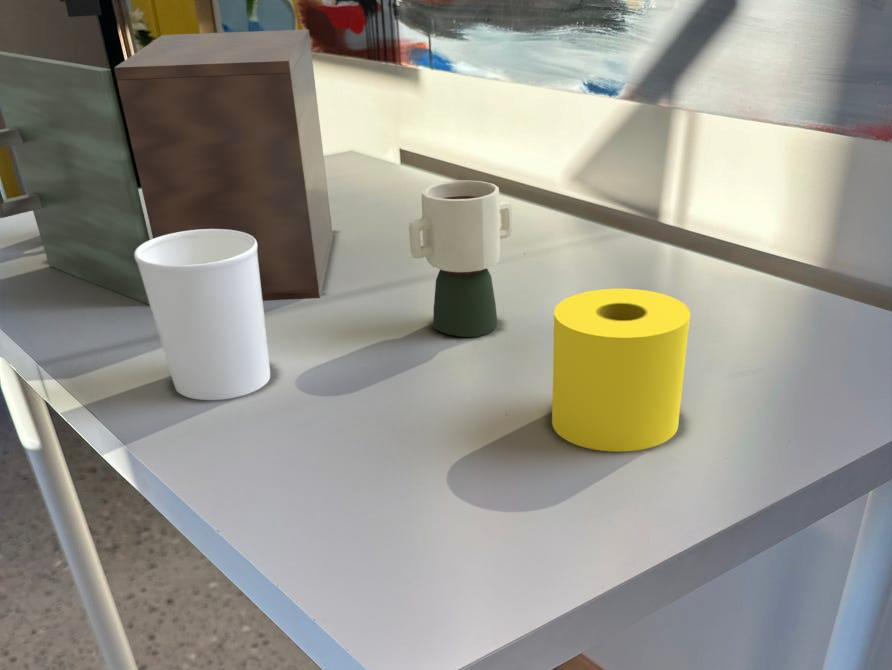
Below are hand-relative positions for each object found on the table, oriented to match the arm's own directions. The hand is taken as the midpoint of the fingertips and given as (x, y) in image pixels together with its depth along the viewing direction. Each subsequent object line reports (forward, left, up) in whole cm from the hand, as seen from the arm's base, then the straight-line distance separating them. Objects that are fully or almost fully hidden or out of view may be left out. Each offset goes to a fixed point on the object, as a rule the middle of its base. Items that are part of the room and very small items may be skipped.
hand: (80, 8), depth 88 cm
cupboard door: (-8, +4, -26) cm, 28 cm away
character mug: (+33, -13, -27) cm, 45 cm away
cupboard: (+10, +9, -26) cm, 30 cm away
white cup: (+11, -23, -27) cm, 37 cm away
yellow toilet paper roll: (+44, -35, -27) cm, 63 cm away
